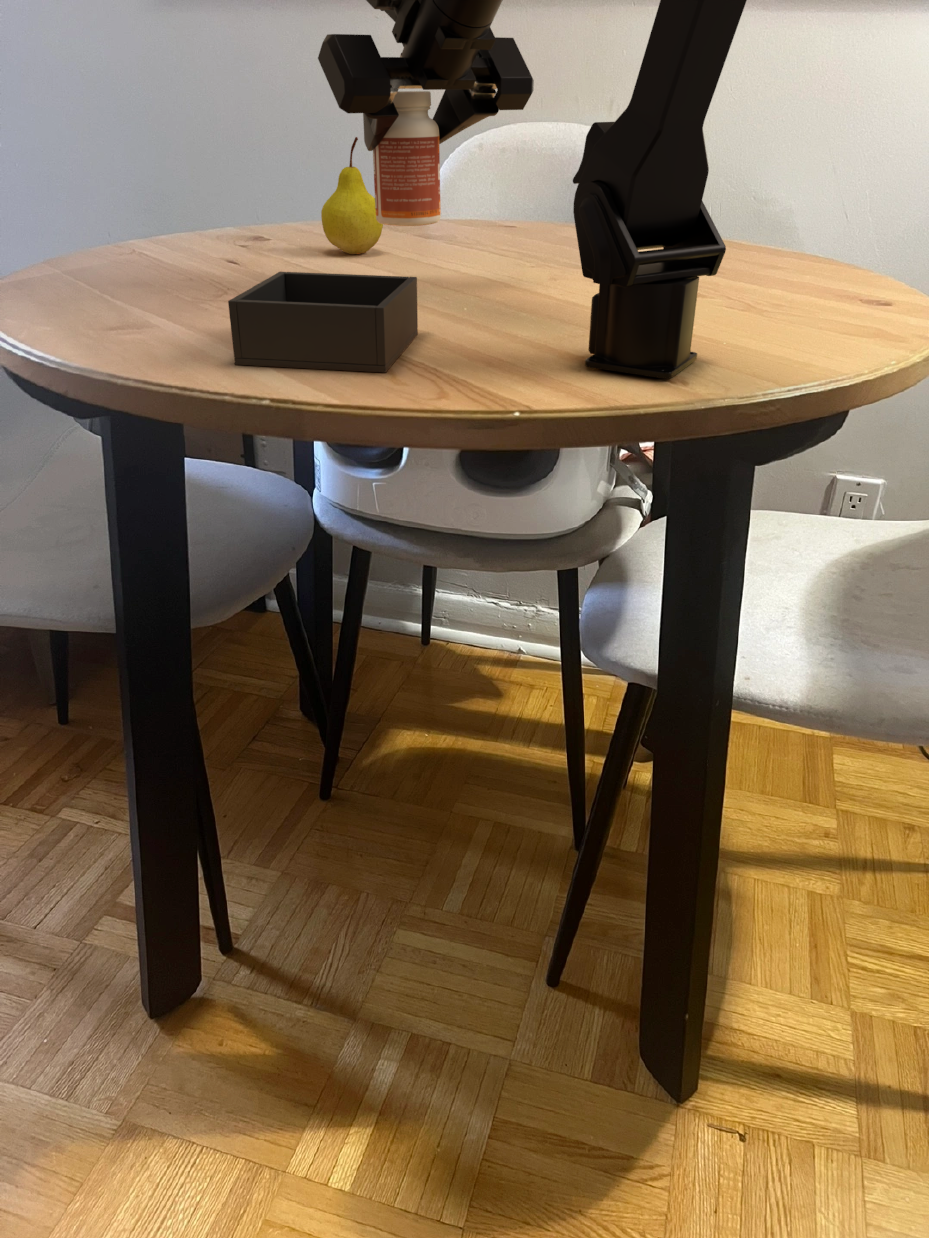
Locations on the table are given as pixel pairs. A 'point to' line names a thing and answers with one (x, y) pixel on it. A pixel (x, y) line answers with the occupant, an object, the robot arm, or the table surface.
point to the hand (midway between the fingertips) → (399, 145)
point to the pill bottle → (408, 165)
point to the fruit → (351, 213)
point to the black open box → (325, 321)
